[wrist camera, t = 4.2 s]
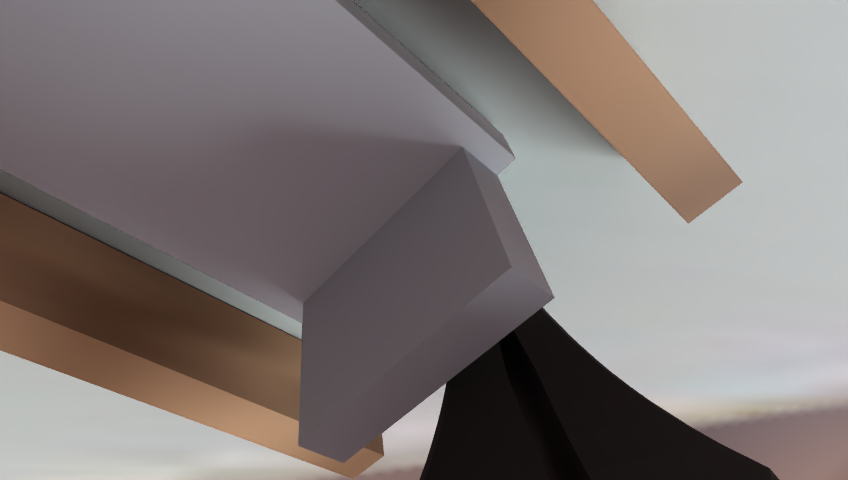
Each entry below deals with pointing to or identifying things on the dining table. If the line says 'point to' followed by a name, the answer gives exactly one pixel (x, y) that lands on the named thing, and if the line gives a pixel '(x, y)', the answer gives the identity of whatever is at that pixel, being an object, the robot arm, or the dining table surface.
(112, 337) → the brown wooden frame
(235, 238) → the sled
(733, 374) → the dining table surface
